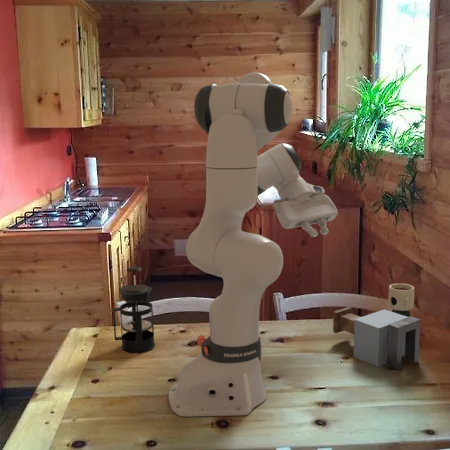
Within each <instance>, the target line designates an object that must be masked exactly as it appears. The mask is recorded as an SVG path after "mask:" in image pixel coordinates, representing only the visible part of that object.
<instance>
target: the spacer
mask: <svg viewBox="0 0 450 450" xmlns="http://www.w3.org/2000/svg"><path fill="white" fill-rule="evenodd" d="M403 333H405V356H404V361H407V362H409V363H411V364H413V365H414V364H417V363H419V358H420V341H421V340H420V338H421V319H420V318H418V317H413V316H412V315H410V317H407V318H404V319H402V320H399V321H396V322H393V323H391V324H388V341H387V363H386V368H387V369H390V370H391V371H394V372H398V371H401V370H402V357H401V355H402V334H403Z"/></svg>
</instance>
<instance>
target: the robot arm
mask: <svg viewBox="0 0 450 450" xmlns="http://www.w3.org/2000/svg"><path fill="white" fill-rule="evenodd" d="M193 106H194V107H193V109H194V116H195V121H196V123H197V125H198V126H199V127H200V129H201V130H202V131H204V132H206V135H207V136H208V137H207V141H206V142H207V144H206V156H205V160H206V161H205V167H206V168H205V172H206V173H205V177H206V180H205V184H206V185H205V188H206V189H205V190H206V193H205V206H204V209H203V214H202V216H201V220H200V222H199V224H198V226H197V228H195V229H194V230H193V231H192V232H191V233H190V235H189V236H188V238H187V240H186V243H185V244H186V245H185V252H186V257H187V260H188V261H189V262H190V264H192V266H195V268H198V270H200V271H202V272H204V273H206V274H210V275H212V276H216V277H218V278H219V277H220V278H222V280H223V288H222V290H221V294H220V295H218V296H217V297H216V298H214V299H213V300H212V301H211V303H210V305H209V307H208V310H209V311H208V313H209V314H208V315H209V316H208V317H209V336H208V337H207V338H206V337H205V336H204V335H198V336H197V337H196V338H197V339H196V341H197V345H198V346H199V347H201V353H200V354H198V355H197V356H195V358H194V359H192V360H191V361H190V362H188V363H187V364H186V365H184V366H183V367H182V368H181V370H180V372H179V376H178V380H177V381H178V382H177V383H175V384H173V385H172V386H171V387H170V389H169V392H168V403H169V406H170V407H169V408H170V409H171V410H172V412H173V413H175V414H176V415H178V416H179V417H215V416H216V417H219V416H220V417H221V416H222V417H224V416H225V417H227V416H246V415H247V416H248V414H250V413H251V412H252V410H253V409H254V408H256V407H257V406H259V405H260V404H262V403H263V402H264V401H265V400H266V398H267V391H266V388H265V385H264V380H263V376H262V369H261V359H262V357H261V356H262V341H261V336H260V335H259V333H260V332H259V330H260V329H259V319H260V305H261V301H262V298H263V295H264V293H265V291H266V289H267V288H268V287H269V286H270V285H272V284H273V283H274V282H275V281H276V280H277V279H278V278H279V276H280V275H281V273H282V270H283V267H284V255H283V251H282V249H281V247H280V245H279V244H277V243H276V242H275V241H273V240H271V239H269V238H267V237H265V236H263V235H261V234H258V233H257V234H256V233H253V232H247V231H243V230H242V224H243V221H244V218H245V215H246V213H247V212H249V211H250V210H252V209H254V207H255V206H256V204H257V202H258V197H259V196H260V195H261V194H263V193H264V192H266V191H267V190H269V189H270V188H272V187H273V188H274V189H276V191H277V195H278V196H279V198H280V199H279V198H277V199H275V200H274V201H273V202H272V207H273V209H274V211H275V215H276V216H277V219H278V222H279V223H280V225H281V227H282V228H284V229H285V230H289V229H295V228H299V227H301V228H302V230H304V231H305V232H307V233H308V234H309V235H310V237H311V238H315V237H317V236H318V235H319V232H320V234H321V235H322V236H326V235H328V234H329V232H330V231H329V229H328V227H327V222H331V221H333V220H334V219H336V218H337V216H338V214H339V212H338V209H337V206H336V205H335V203H334V202H333V201H332V199H331V198H330V197H329V196H328V195H327V194H325V192H326V191H325V189H324V187H322V186H320V185H314V184H311V183H308V182H307V181H306V180H305V179H304V178H303V177H301V175H300V172H301V169H302V166H303V161H302V159H301V158H300V156H299V155H298V153H297V151H296V150H295V149H294V147H293V145H291V144H288V143H284V142H282V143H279V144H276V145H275V146H273V147H271V148H269V149H267V150H266V151H265V152H262V153H261V154H259V155H258V152H259V151H260V150H261V149H262V148H263V147H264V146H266V145H267V144H268V143H270V142H271V141H273V140H274V139H275V138H276V137H277V136H279V134H280V133H281V131H284V130H285V129H286V127H287V126H288V125H289V124H290V120H291V117H292V113H293V102H292V99H291V96H290V92H289V90H288V89H287V88H286V87H285V86H284V85H280V84H277V83H272V81H271V80H270V78H269V77H268V76H267V75H265V74H263V73H261V72H258V71H257V72H255V71H253V72H249V73H246V74H244V75H242V76H241V77H239V79H238V80H237V81H236V82H229V83H222V84H215V83H213V84H209V85H205V86H203V87H201V88H200V89H199V90H198V92H197V93H196V95H195V99H194V105H193ZM311 225H318V226H320V230H319V231H318V229H317V228H314V227H312V226H311Z"/></svg>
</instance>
